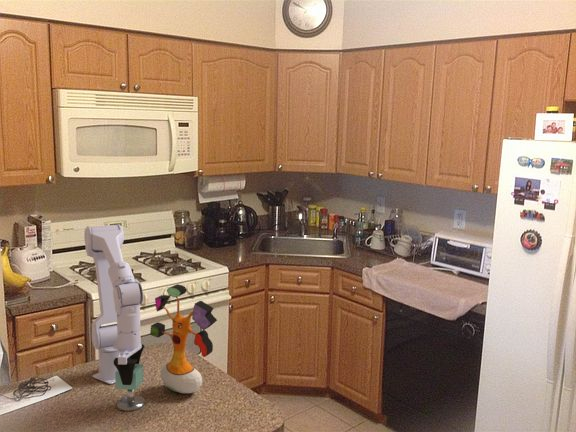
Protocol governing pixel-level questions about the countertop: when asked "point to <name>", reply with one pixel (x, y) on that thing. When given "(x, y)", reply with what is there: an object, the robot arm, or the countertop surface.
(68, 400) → the countertop surface
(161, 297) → the decorative sculpture
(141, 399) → the post
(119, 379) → the collar
